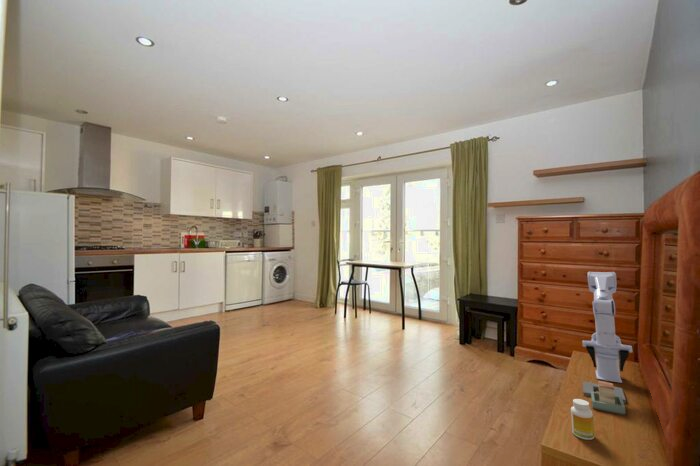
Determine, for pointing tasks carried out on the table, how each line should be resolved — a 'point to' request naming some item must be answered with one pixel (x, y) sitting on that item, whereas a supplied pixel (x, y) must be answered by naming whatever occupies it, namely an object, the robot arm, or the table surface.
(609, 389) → the block
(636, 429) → the table surface
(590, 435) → the supplement bottle
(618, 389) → the holder board
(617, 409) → the tray
